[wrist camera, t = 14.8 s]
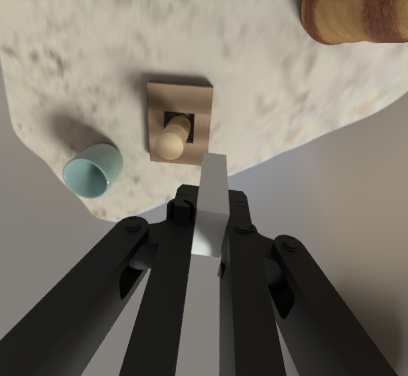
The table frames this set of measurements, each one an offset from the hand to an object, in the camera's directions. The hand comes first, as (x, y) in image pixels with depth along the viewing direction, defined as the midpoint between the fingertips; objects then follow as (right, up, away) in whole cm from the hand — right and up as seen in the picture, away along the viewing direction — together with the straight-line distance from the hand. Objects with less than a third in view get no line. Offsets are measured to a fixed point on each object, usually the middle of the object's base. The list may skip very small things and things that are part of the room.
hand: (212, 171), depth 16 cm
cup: (-20, +5, +32) cm, 38 cm away
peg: (-5, +11, +28) cm, 30 cm away
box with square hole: (-5, +11, +28) cm, 30 cm away
